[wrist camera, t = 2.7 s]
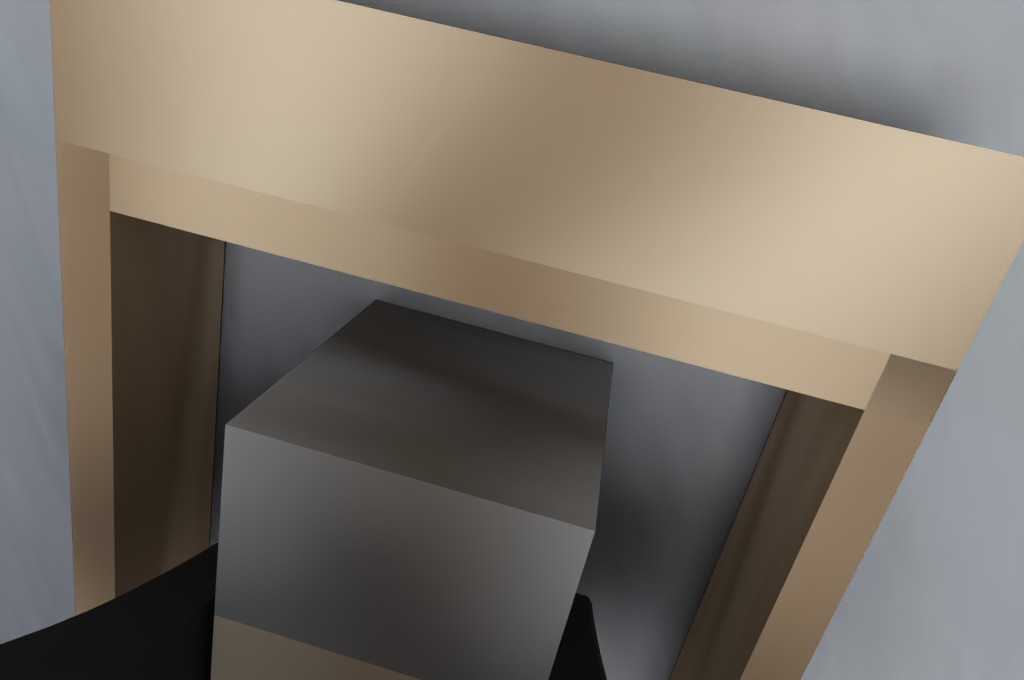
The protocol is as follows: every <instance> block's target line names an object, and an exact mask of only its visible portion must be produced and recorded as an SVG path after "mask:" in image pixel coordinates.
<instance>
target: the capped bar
mask: <svg viewBox="0 0 1024 680" xmlns="http://www.w3.org/2000/svg"><path fill="white" fill-rule="evenodd" d="M612 369H613V363H611V362H607V361H603V360H599V359H596V358H592V357H588V356H584V355H581V354H577V353H573V352H569V351H566V350H562V349H558V348H554V347H550V346H547V345H543V344H539V343H535V342H532V341H528V340H524V339H520V338H517V337H513V336H509V335H505V334H502V333H498V332H494V331H490V330H487V329H483V328H479V327H475V326H472V325H468V324H464V323H460V322H457V321H453V320H449V319H445V318H442V317H438V316H434V315H430V314H427V313H423V312H419V311H415V310H412V309H408V308H404V307H400V306H397V305H393V304H389V303H385V302H382V301H378V300H375V301H374V302H372V303H371V304H370V305H369V306H368V307H366V308H365V309H364V310H363V311H362V312H360V313H359V314H358V315H357V316H356V317H354V318H353V319H352V320H351V321H350V322H348V323H347V324H346V325H345V326H344V327H342V328H341V329H340V330H339V331H338V332H336V333H335V334H334V335H333V336H331V337H330V338H329V339H328V340H327V341H325V342H324V343H323V344H322V345H321V346H319V347H318V348H317V349H316V350H315V351H313V352H312V353H311V354H310V355H309V356H307V357H306V358H305V359H304V360H303V361H301V362H300V363H299V364H298V365H296V366H295V367H294V368H293V369H292V370H290V371H289V372H288V373H287V374H286V375H284V376H283V377H282V378H281V379H280V380H278V381H277V382H276V383H275V384H274V385H272V386H271V387H270V388H269V389H268V390H266V391H265V392H264V393H263V394H262V395H260V396H259V397H258V398H257V399H255V400H254V401H253V402H252V403H251V404H249V405H248V406H247V407H246V408H245V409H243V410H242V411H241V412H240V413H239V414H237V415H236V416H235V417H234V418H233V419H231V420H230V421H229V422H228V423H227V424H225V439H224V456H223V473H222V490H221V508H220V525H219V542H218V559H217V576H216V593H215V610H214V627H213V645H212V662H211V679H210V680H548V679H549V676H550V672H551V669H552V666H553V663H554V660H555V657H556V653H557V650H558V647H559V644H560V641H561V638H562V634H563V631H564V628H565V625H566V622H567V619H568V616H569V612H570V609H571V606H572V603H573V600H574V597H575V593H576V590H577V587H578V584H579V581H580V578H581V574H582V571H583V568H584V565H585V562H586V559H587V556H588V552H589V549H590V546H591V543H592V540H593V537H594V533H595V529H596V519H597V510H598V501H599V491H600V482H601V472H602V463H603V454H604V444H605V435H606V426H607V416H608V407H609V398H610V388H611V379H612Z"/></svg>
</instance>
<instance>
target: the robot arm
mask: <svg viewBox="0 0 1024 680" xmlns="http://www.w3.org/2000/svg"><path fill="white" fill-rule="evenodd" d="M217 559H218V543H216V544H214V545H213V546H211V547H209V548H207V549H206V550H204V551H202V552H200V553H199V554H197V555H195V556H194V557H192V558H190V559H188V560H187V561H185V562H183V563H181V564H180V565H178V566H176V567H174V568H172V569H171V570H169V571H167V572H165V573H163V574H161V575H159V576H157V577H155V578H153V579H151V580H150V581H148V582H146V583H144V584H142V585H140V586H138V587H136V588H134V589H132V590H130V591H128V592H126V593H124V594H122V595H120V596H118V597H116V598H114V599H112V600H110V601H108V602H106V603H104V604H101V605H99V606H97V607H95V608H93V609H90V610H88V611H86V612H83V613H81V614H79V615H76V616H74V617H72V618H69V619H67V620H65V621H62V622H60V623H57V624H55V625H52V626H50V627H47V628H44V629H42V630H39V631H36V632H33V633H31V634H28V635H25V636H22V637H20V638H17V639H14V640H11V641H9V642H6V643H3V644H1V645H0V680H210V679H211V662H212V645H213V627H214V610H215V593H216V576H217ZM548 680H607V678H606V675H605V671H604V667H603V663H602V658H601V654H600V649H599V645H598V640H597V635H596V630H595V624H594V617H593V610H592V603H591V601H590V599H589V598H588V596H585V595H581V594H578V593H575V597H574V600H573V603H572V606H571V609H570V612H569V616H568V619H567V622H566V625H565V628H564V631H563V634H562V638H561V641H560V644H559V647H558V650H557V653H556V657H555V660H554V663H553V666H552V669H551V672H550V676H549V679H548Z"/></svg>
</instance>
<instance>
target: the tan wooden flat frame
mask: <svg viewBox="0 0 1024 680" xmlns="http://www.w3.org/2000/svg"><path fill="white" fill-rule="evenodd" d="M50 18H51V42H52V66H53V89H54V113H55V137H56V160H57V184H58V208H59V232H60V255H61V279H62V303H63V326H64V350H65V374H66V398H67V421H68V445H69V469H70V492H71V516H72V540H73V564H74V587H75V611H76V615H79V614H81V613H83V612H86V611H88V610H90V609H93V608H95V607H97V606H99V605H101V604H104V603H106V602H108V601H110V600H112V599H114V598H116V597H118V596H120V595H122V594H124V593H126V592H128V591H130V590H132V589H134V588H136V587H138V586H140V585H142V584H144V583H146V582H148V581H150V580H151V579H153V578H155V577H157V576H159V575H161V574H163V573H165V572H167V571H169V570H171V569H172V568H174V567H176V566H178V565H180V564H181V563H183V562H185V561H187V560H188V559H190V558H192V557H194V556H195V555H197V554H199V553H200V552H202V551H204V550H206V549H207V548H209V537H210V518H211V499H212V480H213V461H214V442H215V422H216V403H217V384H218V365H219V346H220V327H221V308H222V288H223V269H224V250H225V241H226V242H230V243H234V244H237V245H241V246H245V247H249V248H253V249H256V250H260V251H264V252H268V253H271V254H275V255H279V256H283V257H287V258H290V259H294V260H298V261H302V262H306V263H309V264H313V265H317V266H321V267H325V268H328V269H332V270H336V271H340V272H344V273H347V274H351V275H355V276H359V277H362V278H366V279H370V280H374V281H378V282H381V283H385V284H389V285H393V286H397V287H400V288H404V289H408V290H412V291H416V292H419V293H423V294H427V295H431V296H434V297H438V298H442V299H446V300H450V301H453V302H457V303H461V304H465V305H469V306H472V307H476V308H480V309H484V310H488V311H491V312H495V313H499V314H503V315H506V316H510V317H514V318H518V319H522V320H525V321H529V322H533V323H537V324H541V325H544V326H548V327H552V328H556V329H560V330H563V331H567V332H571V333H575V334H578V335H582V336H586V337H590V338H594V339H597V340H601V341H605V342H609V343H613V344H616V345H620V346H624V347H628V348H632V349H635V350H639V351H643V352H647V353H650V354H654V355H658V356H662V357H666V358H669V359H673V360H677V361H681V362H685V363H688V364H692V365H696V366H700V367H704V368H707V369H711V370H715V371H719V372H722V373H726V374H730V375H734V376H738V377H741V378H745V379H749V380H753V381H757V382H760V383H764V384H768V385H772V386H776V387H779V388H783V389H787V390H788V391H787V393H786V396H785V398H784V401H783V403H782V405H781V408H780V410H779V413H778V415H777V418H776V420H775V423H774V425H773V427H772V430H771V432H770V435H769V437H768V440H767V442H766V445H765V447H764V449H763V452H762V454H761V457H760V459H759V462H758V464H757V467H756V469H755V471H754V474H753V476H752V479H751V481H750V484H749V486H748V489H747V491H746V493H745V496H744V498H743V501H742V503H741V506H740V508H739V511H738V513H737V515H736V518H735V520H734V523H733V525H732V528H731V530H730V533H729V535H728V537H727V540H726V542H725V545H724V547H723V550H722V552H721V555H720V557H719V559H718V562H717V564H716V567H715V569H714V572H713V574H712V577H711V579H710V581H709V584H708V586H707V589H706V591H705V594H704V596H703V599H702V601H701V603H700V606H699V608H698V611H697V613H696V616H695V618H694V621H693V623H692V625H691V628H690V630H689V633H688V635H687V638H686V640H685V643H684V645H683V647H682V650H681V652H680V655H679V657H678V660H677V662H676V665H675V667H674V669H673V672H672V674H671V677H670V679H669V680H800V679H801V677H802V675H803V673H804V671H805V669H806V667H807V665H808V663H809V661H810V659H811V657H812V655H813V653H814V651H815V649H816V647H817V645H818V643H819V642H820V640H821V638H822V636H823V634H824V632H825V630H826V628H827V626H828V624H829V622H830V620H831V618H832V616H833V614H834V612H835V610H836V608H837V606H838V604H839V602H840V600H841V598H842V596H843V594H844V592H845V590H846V588H847V586H848V585H849V583H850V581H851V579H852V577H853V575H854V573H855V571H856V569H857V567H858V565H859V563H860V561H861V559H862V557H863V555H864V553H865V551H866V549H867V547H868V545H869V543H870V541H871V539H872V537H873V535H874V533H875V531H876V530H877V528H878V526H879V524H880V522H881V520H882V518H883V516H884V514H885V512H886V510H887V508H888V506H889V504H890V502H891V500H892V498H893V496H894V494H895V492H896V490H897V488H898V486H899V484H900V482H901V480H902V478H903V476H904V474H905V473H906V471H907V469H908V467H909V465H910V463H911V461H912V459H913V457H914V455H915V453H916V451H917V449H918V447H919V445H920V443H921V441H922V439H923V437H924V435H925V433H926V431H927V429H928V427H929V425H930V423H931V421H932V419H933V418H934V416H935V414H936V412H937V410H938V408H939V406H940V404H941V402H942V400H943V398H944V396H945V394H946V392H947V390H948V388H949V386H950V384H951V382H952V380H953V378H954V376H955V374H956V372H957V370H958V368H959V366H960V364H961V362H962V361H963V359H964V357H965V355H966V353H967V351H968V349H969V347H970V345H971V343H972V341H973V339H974V337H975V335H976V333H977V331H978V329H979V327H980V325H981V323H982V321H983V319H984V317H985V315H986V313H987V311H988V309H989V307H990V305H991V304H992V302H993V300H994V298H995V296H996V294H997V292H998V290H999V288H1000V286H1001V284H1002V282H1003V280H1004V278H1005V276H1006V274H1007V272H1008V270H1009V268H1010V266H1011V264H1012V262H1013V260H1014V258H1015V256H1016V254H1017V252H1018V250H1019V249H1020V247H1021V245H1022V243H1023V241H1024V157H1021V156H1016V155H1012V154H1008V153H1003V152H999V151H994V150H990V149H986V148H981V147H977V146H973V145H968V144H964V143H959V142H955V141H951V140H946V139H942V138H938V137H933V136H929V135H924V134H920V133H916V132H911V131H907V130H903V129H898V128H894V127H889V126H885V125H881V124H876V123H872V122H868V121H863V120H859V119H854V118H850V117H846V116H841V115H837V114H833V113H828V112H824V111H819V110H815V109H811V108H806V107H802V106H797V105H793V104H789V103H784V102H780V101H776V100H771V99H767V98H762V97H758V96H754V95H749V94H745V93H741V92H736V91H732V90H727V89H723V88H719V87H714V86H710V85H706V84H701V83H697V82H692V81H688V80H684V79H679V78H675V77H671V76H666V75H662V74H657V73H653V72H649V71H644V70H640V69H636V68H631V67H627V66H622V65H618V64H614V63H609V62H605V61H601V60H596V59H592V58H587V57H583V56H579V55H574V54H570V53H565V52H561V51H557V50H552V49H548V48H544V47H539V46H535V45H530V44H526V43H522V42H517V41H513V40H509V39H504V38H500V37H495V36H491V35H487V34H482V33H478V32H474V31H469V30H465V29H460V28H456V27H452V26H447V25H443V24H439V23H434V22H430V21H425V20H421V19H417V18H412V17H408V16H404V15H399V14H395V13H390V12H386V11H382V10H377V9H373V8H369V7H364V6H360V5H355V4H351V3H347V2H342V1H338V0H50Z"/></svg>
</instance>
